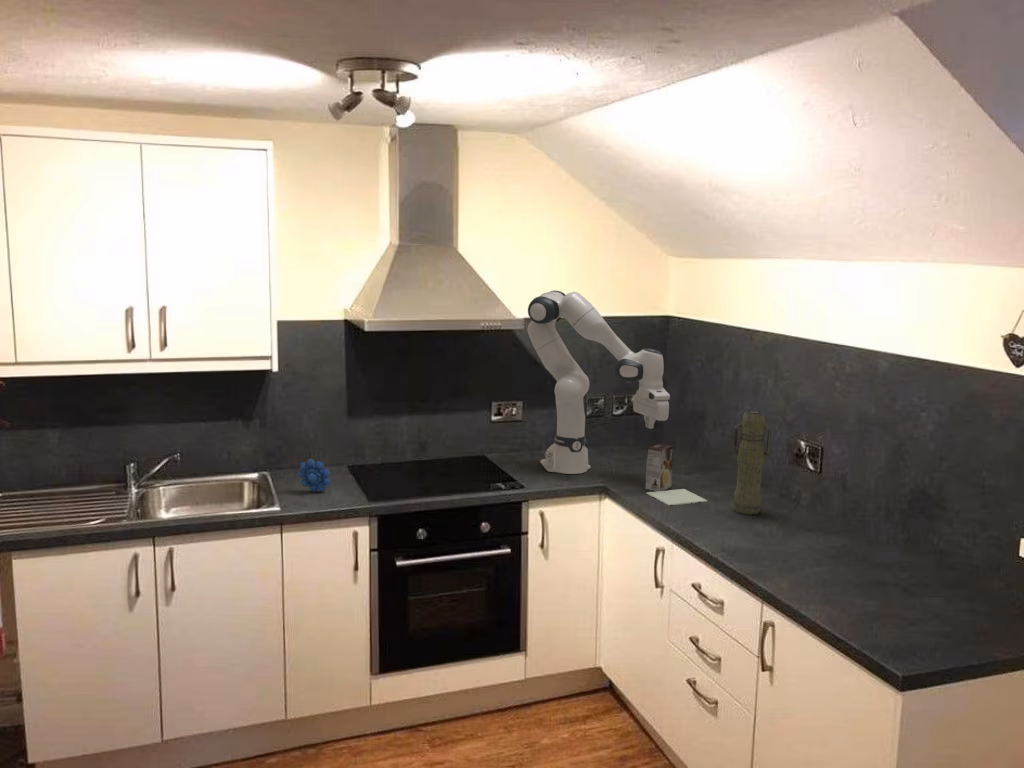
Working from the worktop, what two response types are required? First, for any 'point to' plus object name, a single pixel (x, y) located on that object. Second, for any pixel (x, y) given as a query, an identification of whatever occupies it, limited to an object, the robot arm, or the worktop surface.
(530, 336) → the robot arm
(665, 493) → the mat
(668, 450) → the coffee box
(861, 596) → the worktop surface
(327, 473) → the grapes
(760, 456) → the thermos
